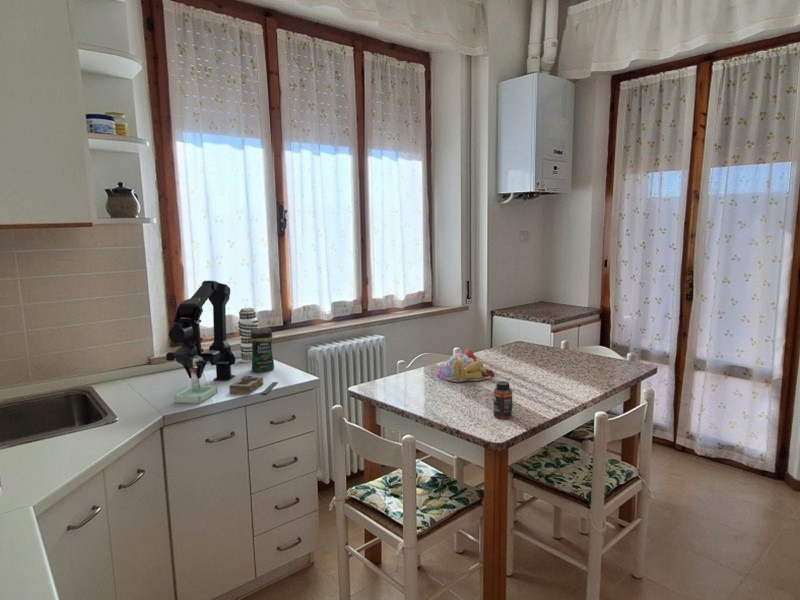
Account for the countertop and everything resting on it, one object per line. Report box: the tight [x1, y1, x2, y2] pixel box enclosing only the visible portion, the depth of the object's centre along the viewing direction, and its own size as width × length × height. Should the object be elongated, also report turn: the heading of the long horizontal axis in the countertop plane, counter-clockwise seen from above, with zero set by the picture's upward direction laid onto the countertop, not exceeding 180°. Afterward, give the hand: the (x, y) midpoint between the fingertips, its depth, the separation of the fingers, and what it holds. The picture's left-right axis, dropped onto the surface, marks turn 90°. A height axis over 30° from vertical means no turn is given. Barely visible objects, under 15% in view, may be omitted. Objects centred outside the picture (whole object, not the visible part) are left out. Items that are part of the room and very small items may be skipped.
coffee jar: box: [250, 327, 275, 373], centre depth 216 cm, size 10×8×19 cm
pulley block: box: [229, 374, 264, 395], centre depth 191 cm, size 12×8×4 cm, turn 171°
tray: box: [173, 385, 218, 405], centre depth 182 cm, size 12×10×3 cm
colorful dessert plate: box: [436, 348, 495, 383], centre depth 204 cm, size 25×24×9 cm
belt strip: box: [260, 381, 279, 395], centre depth 191 cm, size 14×2×1 cm, turn 176°
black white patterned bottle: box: [237, 307, 259, 363], centre depth 233 cm, size 9×9×25 cm
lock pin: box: [189, 365, 201, 393], centre depth 181 cm, size 4×4×9 cm
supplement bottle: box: [493, 380, 513, 420], centre depth 157 cm, size 6×6×11 cm
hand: (195, 378), depth 181 cm, fingers closed on lock pin, 3 cm apart
